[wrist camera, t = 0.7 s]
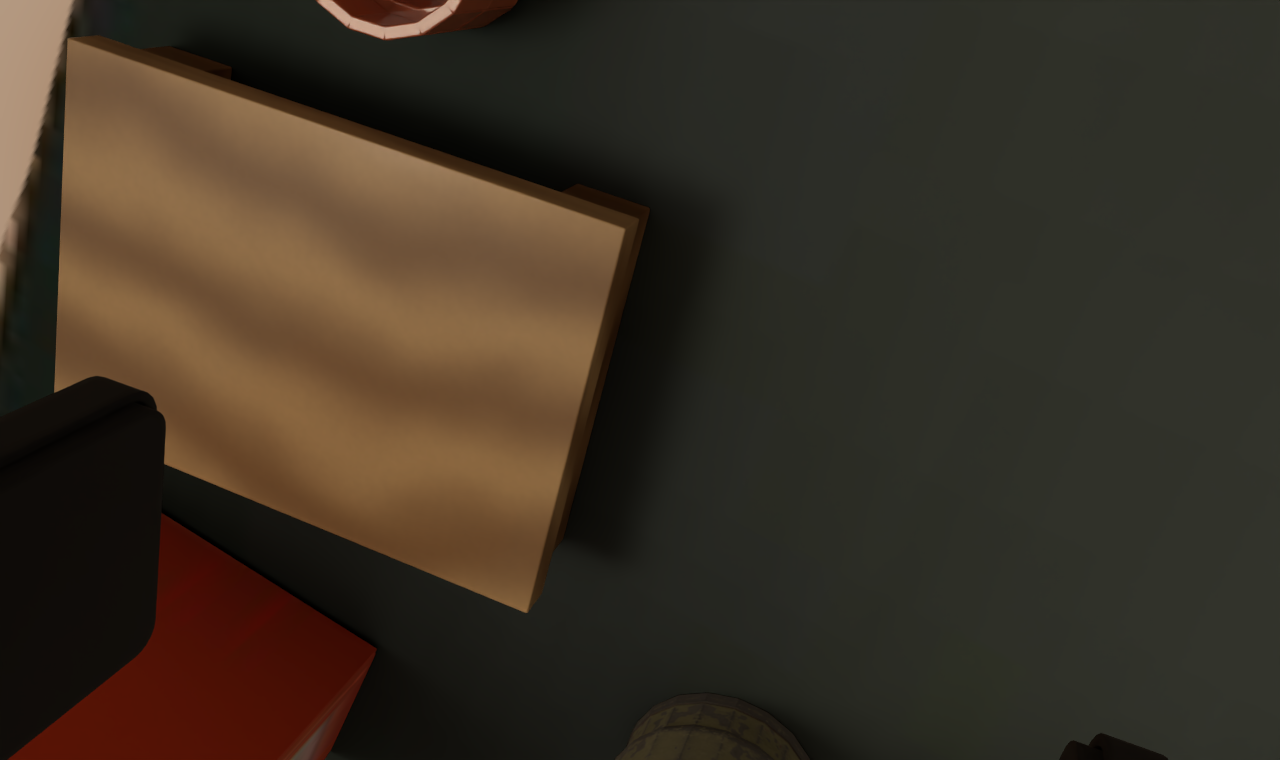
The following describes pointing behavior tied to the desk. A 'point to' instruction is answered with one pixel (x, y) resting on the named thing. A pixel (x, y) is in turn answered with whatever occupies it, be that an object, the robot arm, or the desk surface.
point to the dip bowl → (414, 15)
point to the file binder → (217, 672)
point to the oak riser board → (339, 312)
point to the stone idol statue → (710, 732)
